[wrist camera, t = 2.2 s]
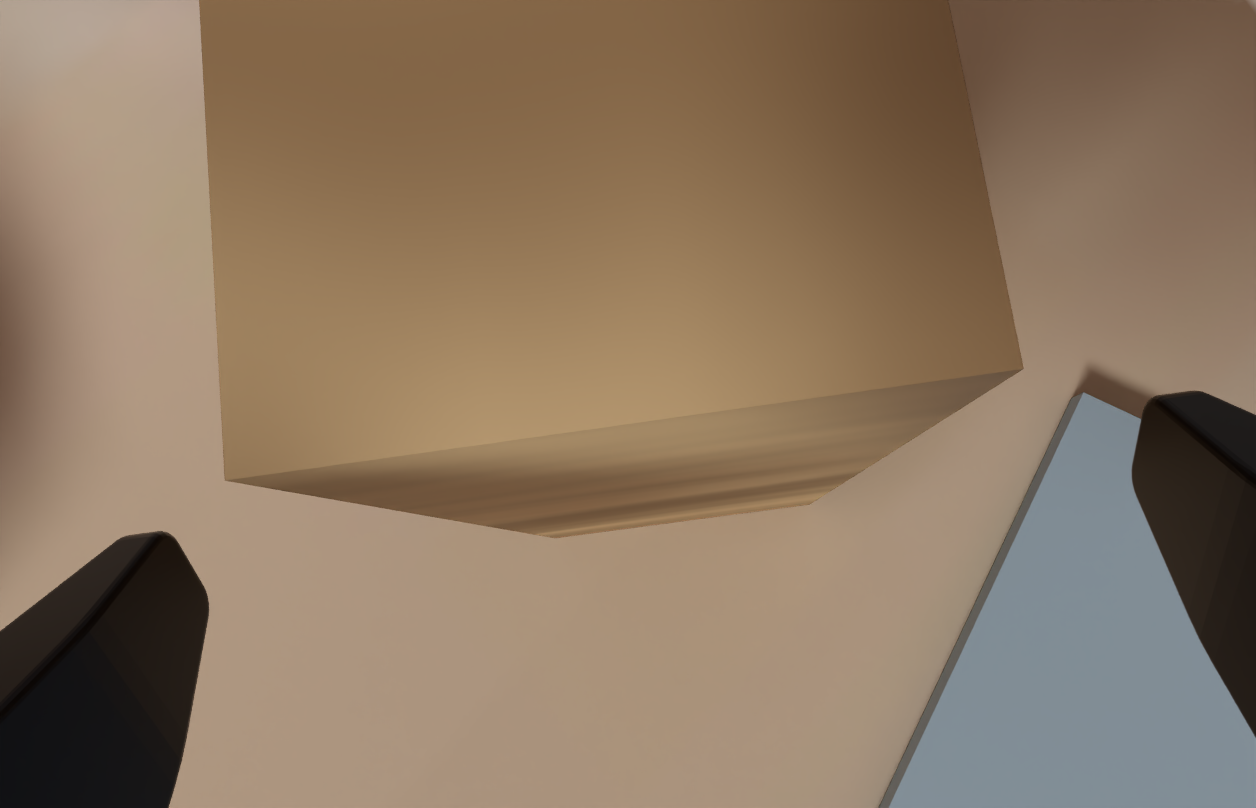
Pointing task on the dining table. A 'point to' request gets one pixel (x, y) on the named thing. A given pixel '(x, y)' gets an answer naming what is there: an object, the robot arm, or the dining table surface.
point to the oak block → (592, 251)
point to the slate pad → (1079, 659)
